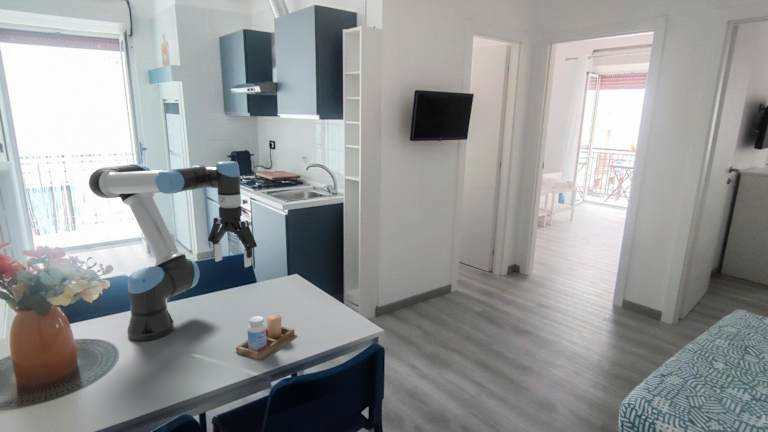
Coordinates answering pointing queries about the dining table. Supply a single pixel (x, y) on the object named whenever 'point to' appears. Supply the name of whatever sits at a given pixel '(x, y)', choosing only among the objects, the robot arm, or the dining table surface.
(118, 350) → the dining table surface
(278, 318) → the peach capsule shape
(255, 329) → the pill bottle
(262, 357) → the rack
